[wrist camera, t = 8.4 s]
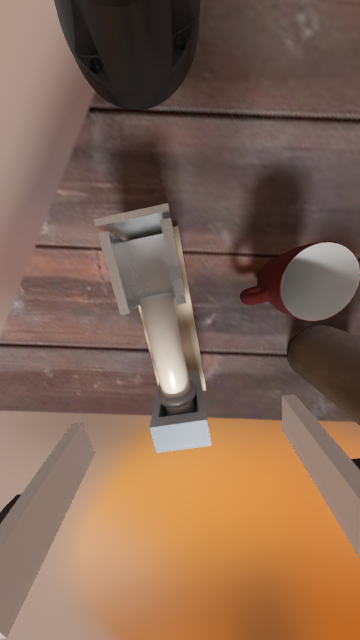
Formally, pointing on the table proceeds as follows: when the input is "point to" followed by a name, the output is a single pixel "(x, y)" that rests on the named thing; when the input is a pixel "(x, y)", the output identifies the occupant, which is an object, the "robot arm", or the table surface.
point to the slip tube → (168, 353)
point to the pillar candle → (330, 365)
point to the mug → (308, 281)
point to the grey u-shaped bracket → (141, 255)
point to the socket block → (181, 424)
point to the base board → (184, 324)
